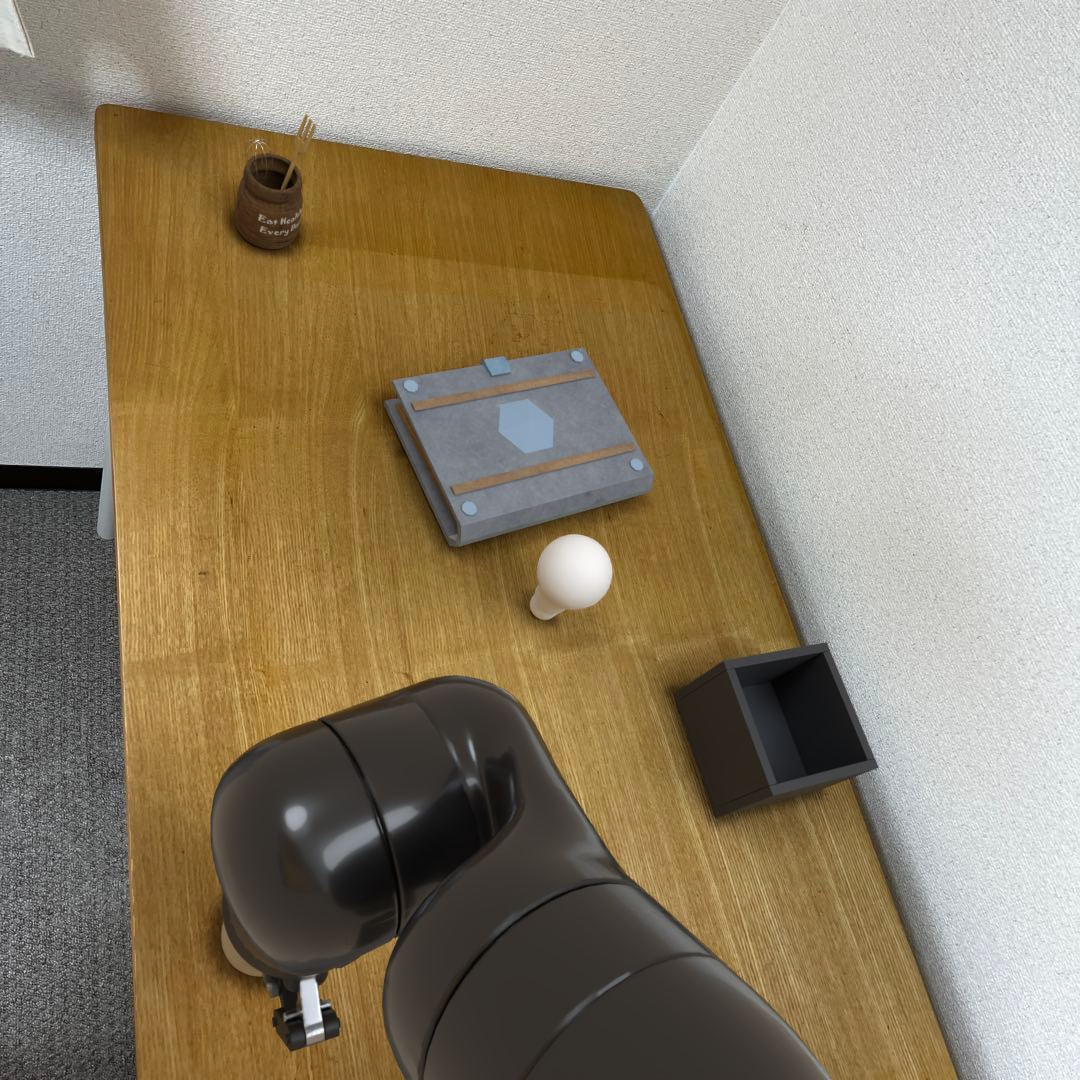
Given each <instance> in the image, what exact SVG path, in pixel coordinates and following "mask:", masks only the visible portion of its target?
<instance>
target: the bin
mask: <svg viewBox="0 0 1080 1080" xmlns="http://www.w3.org/2000/svg"><path fill="white" fill-rule="evenodd" d="M673 695H674V698H675V702H676V705H677V708H678V711H679V714H680V716H681V717H680V718H681V720H682V722H683V725H684V728H685V731H686V734H687V738H688V740H689V743H690V747H691V749H692V752H693V755H694V759H695V761H696V764H697V767H698V770H699V771H700V776H701V778H702V781H703V784H704V787H705V790H706V793H707V796H708V799H709V802H710V805H711V808H712V810H713V814H714V817H715V818H716V819H718V818H722V817H727V816H730V815H733V814H737V813H741V812H745V811H749V810H752V809H756V808H759V807H763V806H767V805H771V804H774V803H779V802H781V801H786V800H788V799H792V798H797V797H800V796H803V795H807V794H811V793H815V792H818V791H821V790H824V789H826V788H829V787H831V786H833V785H837V784H839V783H843V782H846V781H847V780H851V779H853V778H855V777H858V776H861V775H863V774H866V773H869V772H871V771H874V770H877V769H879V768H880V767H879V765H878V763H877V759H876V758H875V755H874V752H873V751H872V748H871V746H870V744H869V740H868V738H867V736H866V734H865V731H864V729H863V726H862V724H861V722H860V719H859V716H858V714H857V712H856V709H855V708H854V704H853V702H852V700H851V698H850V695H849V692H848V689H847V687H846V686H845V683H844V681H843V678H842V676H841V673H840V671H839V669H838V666H837V664H836V661H835V659H834V656H833V655H832V652H831V649H830V646H829V644H828V642H827V641H826V642H820V643H815V644H807V645H802V646H797V647H791V648H786V649H781V650H773V651H769V652H763V653H758V654H751V655H746V656H740V657H735V658H734V657H733V658H729V659H725V660H722V661H720V662H719V663H717V664H716V665H714V666H713V667H711V668H710V669H708V670H707V671H705V672H704V673H702V674H701V675H699V676H697V678H695V679H693V680H692V681H690V682H688V684H685V685H684V686H682V687H681V688H679V689H678V690H677V691H675V692H674V693H673Z"/></svg>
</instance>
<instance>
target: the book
mask: <svg viewBox="0 0 1080 1080" xmlns="http://www.w3.org/2000/svg"><path fill="white" fill-rule="evenodd" d="M391 385H392V387H393V389H394V391H395V393H396V396H397V397H398V398H392V399H391V398H390V399H385V400H384V402H383V406H384V408H385V411H386V413H387V415H388V417H389V419H390V421H391V423H392V425H393V428H394V430H395V431H396V434H397V436H398V439H399V441H400V443H401V445H402V447H403V449H404V451H405V454H406V456H407V458H408V460H409V463H410V464H411V467H412V469H413V471H414V473H415V475H416V478H417V480H418V482H419V485H420V486H421V488H422V489H423V490H422V491H423V493H424V495H425V497H426V499H427V501H428V503H429V505H430V508H431V510H432V512H433V514H434V516H435V519H436V520H437V523H438V525H439V527H440V528H441V531H442V534H443V535H444V538H445V540H446V542H447V545H448V547H456V548H460V547H463V546H467V545H469V544H474V543H477V542H480V541H484V540H488V539H491V538H494V537H499V536H502V535H505V534H508V533H512V532H516V531H519V530H523V529H526V528H530V527H533V526H536V525H541V524H544V523H547V522H551V521H554V520H558V519H562V518H565V517H569V516H572V515H575V514H580V513H582V512H586V511H589V510H593V509H597V508H600V507H603V506H608V505H611V504H615V503H618V502H622V501H624V500H629V499H632V498H635V497H639V496H642V495H646V494H649V492H651V490H652V489H653V485H654V477H655V473H654V471H653V470H652V469H653V468H652V467H651V466H650V464H649V462H648V460H647V459H646V457H645V455H644V453H643V451H642V449H641V448H640V445H639V444H638V442H637V440H636V438H635V437H634V435H633V433H632V431H631V429H630V428H629V426H628V424H627V422H626V421H625V419H624V417H623V415H622V413H621V412H620V410H619V408H618V406H617V404H616V402H615V401H614V399H613V397H612V395H611V394H610V391H609V390H608V388H607V386H606V384H605V383H604V381H603V379H602V377H601V376H600V374H599V372H598V370H597V369H596V367H595V365H594V363H593V361H592V359H591V358H590V356H589V353H587V351H586V349H585V347H578V348H571V349H565V350H559V351H554V352H548V353H541V354H536V355H531V356H524V357H518V358H512V359H508V360H507V358H506V356H505V355H501V356H495V357H489V358H484V359H483V358H482V359H481V361H480V364H478V365H473V366H467V367H461V368H454V369H450V370H443V371H438V372H432V373H425V374H419V375H414V376H408V377H403V378H402V377H401V378H397V379H392V381H391Z"/></svg>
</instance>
